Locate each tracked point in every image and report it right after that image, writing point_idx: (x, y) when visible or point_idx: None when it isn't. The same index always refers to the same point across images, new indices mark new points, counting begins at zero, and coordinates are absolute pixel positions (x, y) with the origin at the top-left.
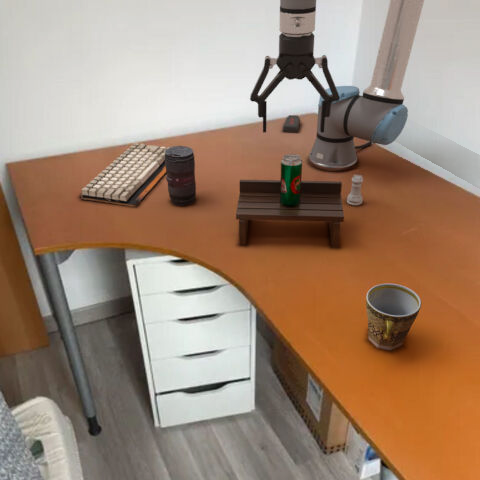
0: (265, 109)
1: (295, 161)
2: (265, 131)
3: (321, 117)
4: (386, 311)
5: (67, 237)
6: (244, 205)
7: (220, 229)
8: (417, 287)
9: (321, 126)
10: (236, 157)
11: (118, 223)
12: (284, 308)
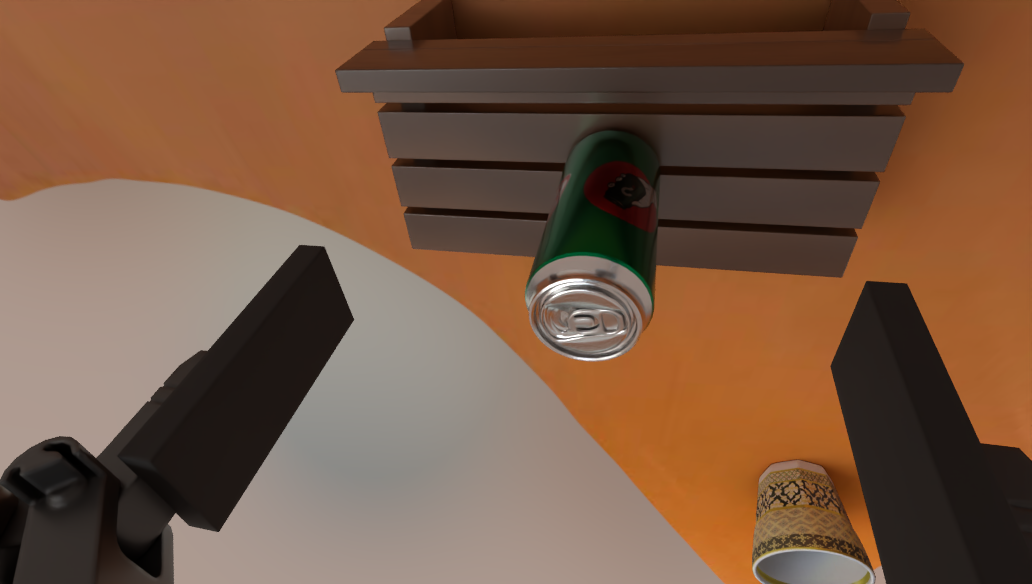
0: (242, 486)
1: (606, 357)
2: (346, 324)
3: (874, 469)
4: (812, 494)
5: (9, 159)
6: (424, 192)
7: (372, 98)
8: (976, 379)
9: (847, 412)
10: None
11: (52, 76)
12: (603, 403)
